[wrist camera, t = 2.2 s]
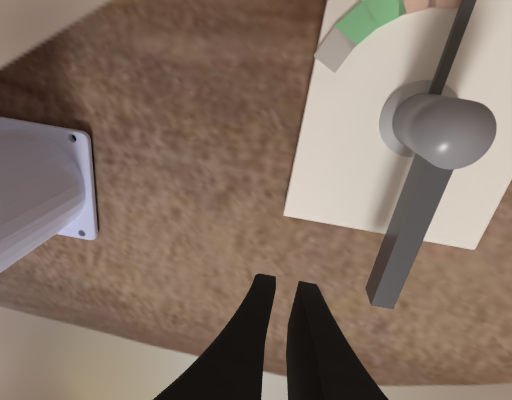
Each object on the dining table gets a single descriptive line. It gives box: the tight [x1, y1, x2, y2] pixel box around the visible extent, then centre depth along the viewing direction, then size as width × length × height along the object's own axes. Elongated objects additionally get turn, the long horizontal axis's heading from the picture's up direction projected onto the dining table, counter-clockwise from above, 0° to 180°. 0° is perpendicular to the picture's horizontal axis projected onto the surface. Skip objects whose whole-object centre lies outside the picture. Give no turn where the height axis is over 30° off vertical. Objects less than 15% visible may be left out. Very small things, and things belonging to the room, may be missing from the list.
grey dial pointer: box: [366, 0, 497, 309], centre depth 15 cm, size 16×3×4 cm, turn 172°
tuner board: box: [283, 0, 512, 250], centre depth 17 cm, size 12×14×1 cm
